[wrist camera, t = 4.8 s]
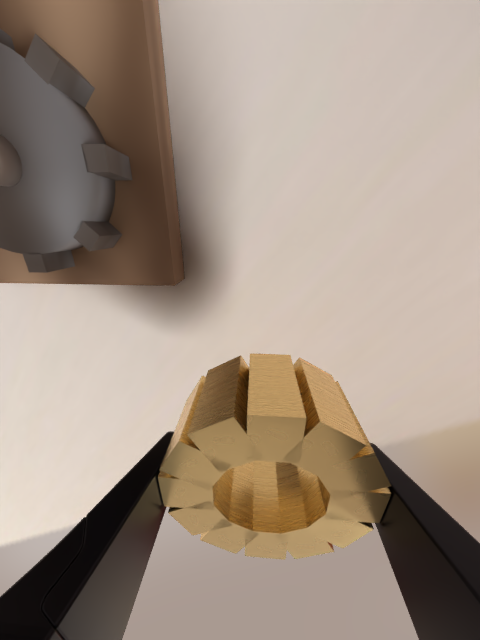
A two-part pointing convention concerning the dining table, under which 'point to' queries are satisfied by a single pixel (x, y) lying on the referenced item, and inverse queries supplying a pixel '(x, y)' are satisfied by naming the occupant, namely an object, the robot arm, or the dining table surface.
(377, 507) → the brass gear
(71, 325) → the dining table surface
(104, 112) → the gear board
